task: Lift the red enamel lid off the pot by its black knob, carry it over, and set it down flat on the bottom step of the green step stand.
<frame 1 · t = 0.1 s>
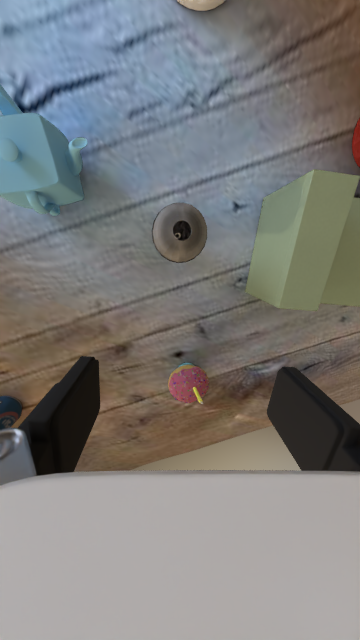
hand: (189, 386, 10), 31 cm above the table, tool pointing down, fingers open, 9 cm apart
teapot: (53, 174, 33), on the table
cupcake: (186, 371, 46), on the table
beverage cup: (175, 240, 37), on the table
green step stand: (306, 253, 39), on the table
soda can: (9, 405, 46), on the table
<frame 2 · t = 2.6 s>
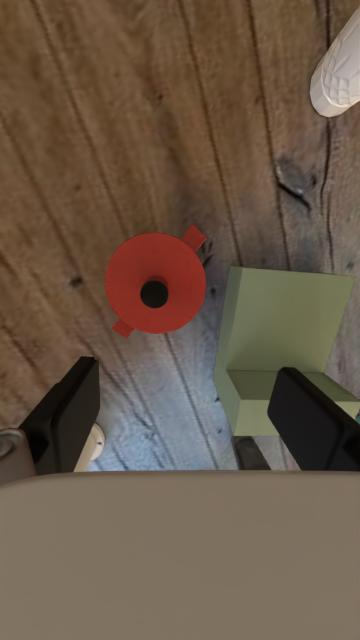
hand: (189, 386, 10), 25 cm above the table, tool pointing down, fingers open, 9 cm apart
pot: (158, 278, 33), on the table
white cup: (332, 87, 27), on the table
beverage cup: (240, 437, 45), on the table
lid: (156, 286, 25), point 8 cm above the table, touching pot
green step stand: (264, 330, 37), on the table
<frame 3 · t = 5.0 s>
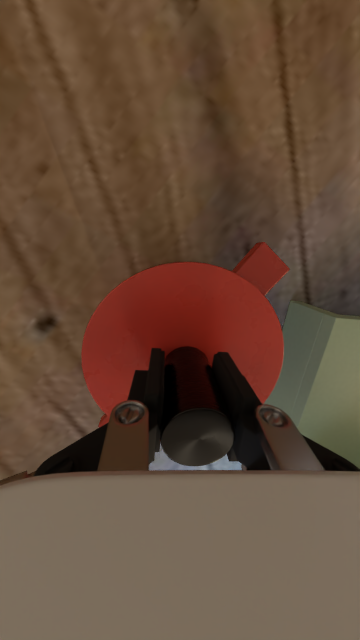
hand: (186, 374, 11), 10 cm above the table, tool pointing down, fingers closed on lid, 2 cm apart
pot: (177, 319, 21), on the table
lid: (184, 361, 13), point 9 cm above the table, touching gripper, pot
green step stand: (330, 391, 25), on the table
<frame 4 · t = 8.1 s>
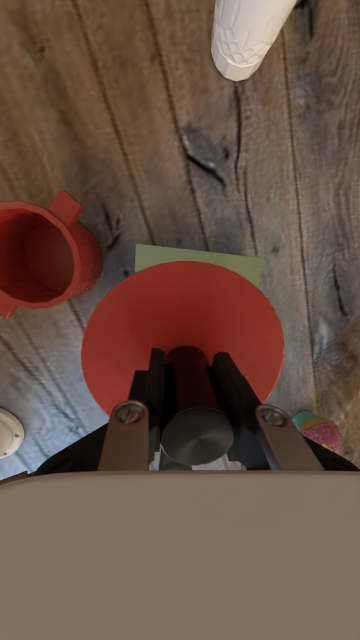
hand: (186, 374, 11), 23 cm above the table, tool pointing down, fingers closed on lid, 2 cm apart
pot: (63, 257, 30), on the table
white cup: (237, 47, 24), on the table
cupcake: (302, 418, 44), on the table
beverage cup: (173, 433, 43), on the table
lid: (184, 361, 13), point 22 cm above the table, touching gripper
green step stand: (187, 318, 35), on the table
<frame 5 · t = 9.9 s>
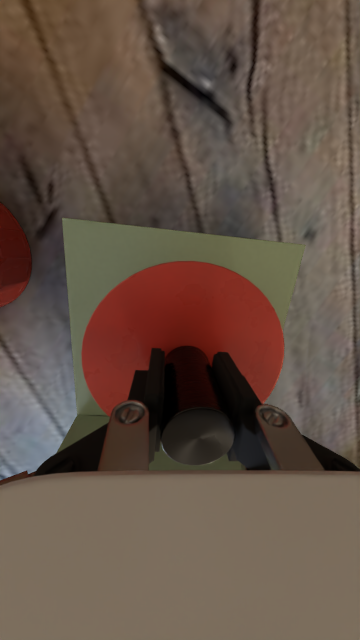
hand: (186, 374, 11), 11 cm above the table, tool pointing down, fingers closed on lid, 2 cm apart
lid: (185, 361, 13), point 10 cm above the table, touching gripper
green step stand: (173, 341, 23), on the table
when the fingers open (8 cm above the table, at t = 11.0 s): lid stays where it is, resting on green step stand.
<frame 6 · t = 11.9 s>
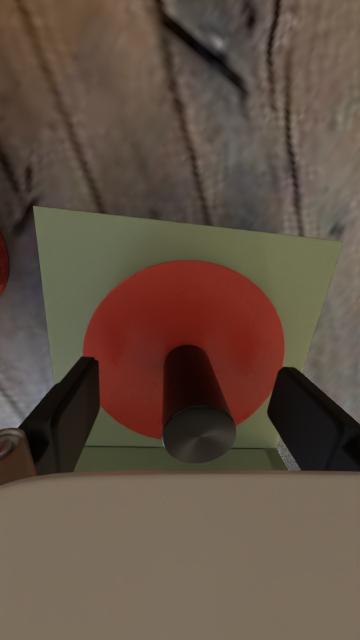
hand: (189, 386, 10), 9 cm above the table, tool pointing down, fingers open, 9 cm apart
lid: (185, 360, 13), point 7 cm above the table, touching green step stand
green step stand: (176, 354, 20), on the table
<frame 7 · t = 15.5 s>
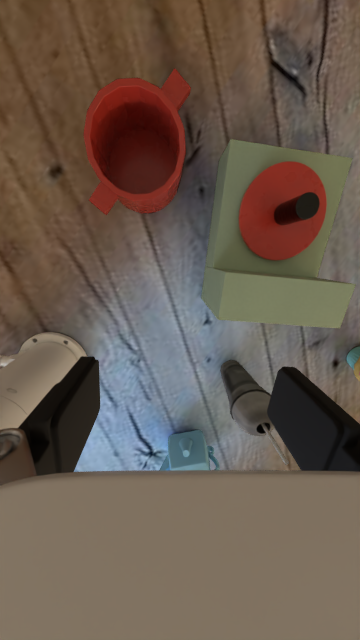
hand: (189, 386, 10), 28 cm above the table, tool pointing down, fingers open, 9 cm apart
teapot: (184, 441, 49), on the table
pot: (143, 172, 31), on the table
cupcake: (356, 355, 45), on the table
beverage cup: (230, 368, 43), on the table
lid: (281, 214, 28), point 7 cm above the table, touching green step stand
green step stand: (256, 241, 35), on the table
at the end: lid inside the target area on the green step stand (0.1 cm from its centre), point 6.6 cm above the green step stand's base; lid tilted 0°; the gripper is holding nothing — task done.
